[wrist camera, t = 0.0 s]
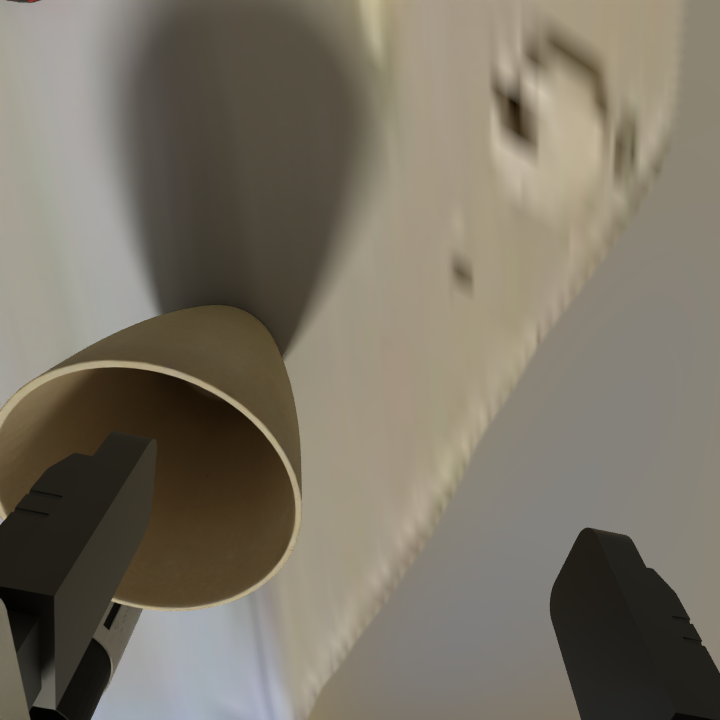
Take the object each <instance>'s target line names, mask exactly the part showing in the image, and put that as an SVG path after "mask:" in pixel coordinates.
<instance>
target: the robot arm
mask: <svg viewBox="0 0 720 720" xmlns="http://www.w3.org/2000/svg"><path fill="white" fill-rule="evenodd" d="M156 453H157V442H156V440H155V439H152V438H147V437H142V436H137V435H132V434H127V433H123V432H118V431H112V432H111V433H110V434H109V435H108V436H107V437H106V439H105V440H104V442H103V443H102V444H101V446H100V447H99V448H98V450H97V451H96V452H95V454H94V455H93V456H89V455H84V454H79V453H73V454H71V455H70V456H68V457H66V458H65V459H63V460H61V461H59V462H58V463H56V464H54V465H52V466H51V467H49V468H47V470H46V471H45V472H44V473H43V474H42V476H41V477H40V478H39V479H38V480H37V482H36V483H35V484H34V485H33V486H32V488H31V489H30V492H29V494H26V495H25V496H24V497H23V498H22V500H21V501H20V502H19V503H18V504H17V506H16V507H15V510H14V512H11V513H10V514H9V515H8V516H7V518H6V519H5V520H4V521H3V522H2V524H1V525H0V720H30V716H29V711H30V709H31V707H32V706H36V707H41V708H47V709H53V710H56V708H57V706H58V704H59V702H60V700H61V698H62V696H63V694H64V692H65V690H66V688H67V686H68V684H69V682H70V680H71V679H72V677H73V675H74V673H75V671H76V669H77V667H78V665H79V663H80V661H81V659H82V657H83V655H84V653H85V651H86V649H87V647H88V645H89V643H90V641H91V639H92V637H93V635H94V633H95V631H96V629H97V627H98V625H99V624H100V622H101V620H102V618H103V616H104V614H105V612H106V610H107V608H108V606H109V604H110V602H111V600H112V598H113V596H114V594H115V592H116V590H117V588H118V586H119V584H120V582H121V580H122V578H123V576H124V574H125V572H126V570H127V569H128V567H129V565H130V563H131V561H132V559H133V557H134V555H135V553H136V551H137V549H138V547H139V545H140V543H141V541H142V539H143V537H144V534H145V531H146V529H147V526H148V522H149V519H150V514H151V509H152V502H153V490H154V478H155V466H156ZM550 615H551V620H552V623H553V626H554V630H555V633H556V636H557V640H558V643H559V646H560V650H561V653H562V657H563V660H564V663H565V667H566V670H567V673H568V677H569V680H570V684H571V687H572V690H573V693H574V697H575V700H576V704H577V707H578V710H579V714H580V717H581V720H720V673H719V671H718V669H717V667H716V665H715V664H714V662H713V660H712V658H711V656H710V655H709V653H708V651H707V649H706V647H705V646H702V645H701V641H702V640H701V638H700V636H699V634H698V633H697V631H696V629H695V627H694V626H693V624H690V622H689V621H690V618H689V616H688V615H687V613H686V611H685V609H684V607H683V605H682V603H681V602H680V600H679V598H678V596H677V594H676V593H675V592H674V591H673V590H672V589H671V588H670V586H669V585H668V584H667V583H666V582H665V581H664V580H663V579H662V578H661V577H660V576H659V575H658V574H657V573H656V572H655V571H654V569H651V568H646V566H645V564H644V562H643V560H642V558H641V556H640V554H639V552H638V551H637V549H636V547H635V545H634V543H633V541H632V539H630V537H628V536H627V535H622V534H618V533H613V532H607V531H603V530H597V529H593V528H585V529H583V530H582V531H581V532H580V533H579V535H578V537H577V539H576V541H575V543H574V545H573V547H572V549H571V551H570V553H569V555H568V557H567V559H566V561H565V563H564V565H563V567H562V569H561V571H560V573H559V575H558V577H557V579H556V581H555V583H554V585H553V588H552V592H551V597H550Z"/></svg>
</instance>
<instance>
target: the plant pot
mask: <svg viewBox="0 0 720 720" xmlns="http://www.w3.org/2000/svg"><path fill="white" fill-rule="evenodd" d="M112 431H118V432H123V433H127V434H132V435H137V436H142V437H147V438H152V439H155V440H156V442H157V453H156V466H155V478H154V490H153V502H152V509H151V514H150V519H149V522H148V526H147V529H146V531H145V534H144V537H143V539H142V541H141V543H140V545H139V547H138V549H137V551H136V553H135V555H134V557H133V559H132V561H131V563H130V565H129V567H128V569H127V570H126V572H125V574H124V576H123V578H122V580H121V582H120V584H119V586H118V588H117V590H116V592H115V594H114V596H113V598H112V600H111V601H113V602H116V603H119V604H123V605H128V606H132V607H136V608H142V609H150V610H160V611H189V610H198V609H204V608H210V607H215V606H219V605H222V604H226V603H229V602H231V601H234V600H237V599H239V598H241V597H243V596H245V595H247V594H249V593H251V592H253V591H254V590H256V589H257V588H259V587H260V586H262V585H263V584H264V583H266V582H267V581H268V580H269V579H271V578H272V577H273V576H274V575H275V574H276V573H277V572H278V571H279V570H280V568H281V567H282V566H283V565H284V564H285V562H286V561H287V559H288V558H289V556H290V554H291V553H292V551H293V549H294V546H295V544H296V541H297V538H298V535H299V531H300V526H301V518H302V484H301V451H300V437H299V426H298V420H297V413H296V407H295V402H294V397H293V393H292V388H291V384H290V380H289V377H288V374H287V371H286V368H285V365H284V362H283V359H282V357H281V354H280V352H279V350H278V347H277V345H276V343H275V341H274V339H273V337H272V336H271V334H270V332H269V331H268V330H267V328H266V327H265V326H264V325H263V324H262V323H261V322H260V321H259V320H258V319H257V318H255V317H254V316H252V315H251V314H249V313H248V312H246V311H244V310H241V309H239V308H236V307H232V306H227V305H207V306H198V307H192V308H186V309H182V310H178V311H174V312H170V313H166V314H163V315H160V316H157V317H154V318H150V319H148V320H145V321H143V322H140V323H138V324H135V325H133V326H130V327H128V328H126V329H123V330H121V331H119V332H116V333H114V334H112V335H110V336H108V337H106V338H104V339H102V340H100V341H98V342H96V343H94V344H93V345H91V346H89V347H87V348H85V349H83V350H82V351H80V352H78V353H76V354H75V355H73V356H71V357H70V358H68V359H66V360H65V361H63V362H61V363H60V364H58V365H56V366H55V367H53V368H51V369H50V370H48V371H46V372H45V373H43V374H42V375H40V376H38V377H37V378H35V379H33V380H32V381H30V382H28V383H27V384H26V385H24V386H23V387H22V388H20V389H19V390H18V391H17V392H16V393H15V394H14V395H13V396H12V397H11V398H10V399H9V400H8V401H7V402H6V404H5V405H4V406H3V407H2V409H1V410H0V516H1V518H2V520H3V521H4V520H5V519H6V518H7V516H8V515H9V514H10V513H11V512H14V510H15V507H16V506H17V504H18V503H19V502H20V501H21V500H22V498H23V497H24V496H25V495H26V494H29V492H30V489H31V488H32V486H33V485H34V484H35V483H36V482H37V480H38V479H39V478H40V477H41V476H42V474H43V473H44V472H45V471H46V470H47V468H49V467H51V466H52V465H54V464H56V463H58V462H59V461H61V460H63V459H65V458H66V457H68V456H70V455H71V454H73V453H79V454H84V455H89V456H93V455H94V454H95V452H96V451H97V450H98V448H99V447H100V446H101V444H102V443H103V442H104V440H105V439H106V437H107V436H108V435H109V434H110V433H111V432H112Z"/></svg>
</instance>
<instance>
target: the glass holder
mask: <svg viewBox="0 0 720 720" xmlns="http://www.w3.org/2000/svg"><path fill="white" fill-rule="evenodd" d="M142 610H143V609H142V608H136V607H132V606H128V605H123V604H119V603H116V602H113V601H111V602H110V604H109V606H108V608H107V610H106V612H105V614H104V616H103V618H102V620H101V622H100V624H99V625H98V627H97V629H96V631H95V633H94V635H93V637H92V639H91V641H90V643H89V645H88V647H87V649H86V651H85V653H84V655H83V657H82V659H81V661H80V663H79V665H78V667H77V669H76V671H75V673H74V675H73V677H72V679H71V680H70V682H69V684H68V686H67V688H66V690H65V692H64V694H63V696H62V698H61V700H60V702H59V704H58V706H57V708H56V710H53V709H47V708H41V707H36V706H32V707H31V709H30V711H29V716H30V720H91V718H92V716H93V714H94V711H95V709H96V707H97V705H98V703H99V700H100V698H101V696H102V695H103V694H104V692H105V691H106V690H107V688H108V686H109V684H110V682H111V680H112V677H113V675H114V673H115V671H116V668H117V666H118V664H119V662H120V659H121V657H122V655H123V653H124V650H125V648H126V646H127V644H128V641H129V639H130V637H131V635H132V632H133V630H134V628H135V626H136V623H137V621H138V619H139V617H140V614H141V612H142Z"/></svg>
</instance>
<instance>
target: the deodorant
mask: <svg viewBox="0 0 720 720" xmlns="http://www.w3.org/2000/svg"><path fill="white" fill-rule="evenodd" d="M8 1H14V2H28V3H33V2H36V1H39V0H8Z"/></svg>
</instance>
